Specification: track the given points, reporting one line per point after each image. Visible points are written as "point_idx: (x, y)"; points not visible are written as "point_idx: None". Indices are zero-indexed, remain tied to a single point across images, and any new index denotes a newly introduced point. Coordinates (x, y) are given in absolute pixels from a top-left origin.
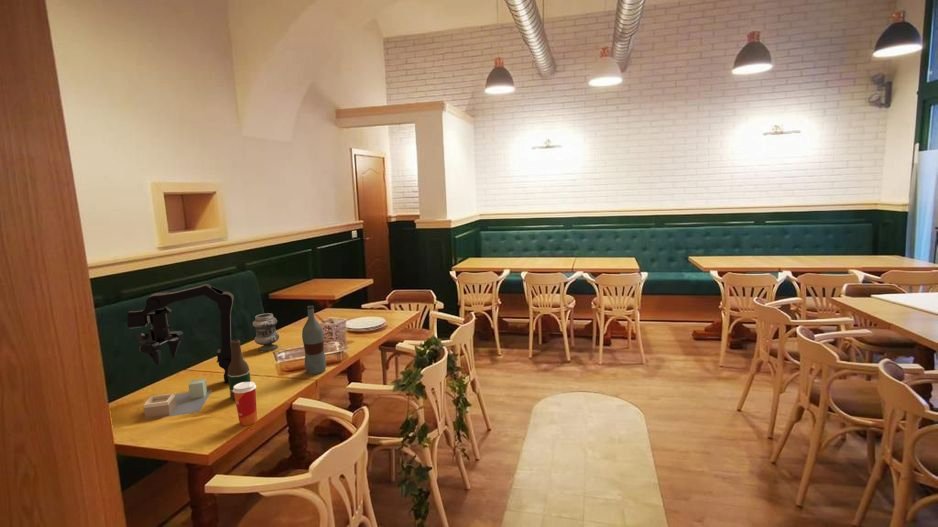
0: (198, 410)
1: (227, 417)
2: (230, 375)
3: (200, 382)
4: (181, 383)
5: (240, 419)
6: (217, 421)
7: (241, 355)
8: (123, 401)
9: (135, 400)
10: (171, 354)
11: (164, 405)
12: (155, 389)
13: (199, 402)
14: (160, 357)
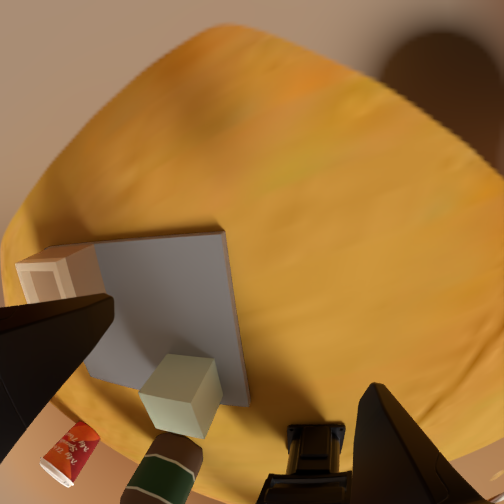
0: (97, 376)
1: (95, 413)
2: (126, 488)
3: (158, 424)
4: (417, 249)
5: (71, 428)
6: (79, 398)
7: None
8: (228, 38)
9: (226, 88)
10: (376, 411)
11: None
12: (369, 129)
13: (139, 378)
14: (52, 394)
